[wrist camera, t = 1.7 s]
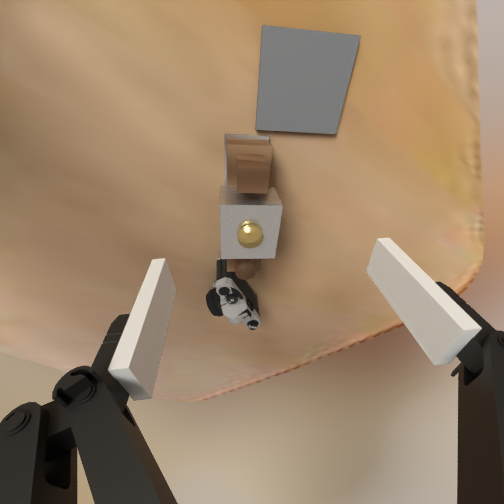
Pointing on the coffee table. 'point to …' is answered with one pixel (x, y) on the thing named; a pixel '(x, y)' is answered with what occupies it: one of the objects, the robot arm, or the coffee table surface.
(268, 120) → the felt mat
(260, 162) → the plane body
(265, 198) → the grey gold knob block
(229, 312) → the camera
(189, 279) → the coffee table surface
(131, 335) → the robot arm
